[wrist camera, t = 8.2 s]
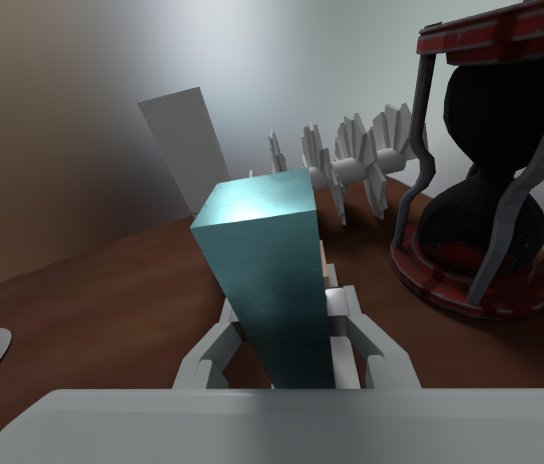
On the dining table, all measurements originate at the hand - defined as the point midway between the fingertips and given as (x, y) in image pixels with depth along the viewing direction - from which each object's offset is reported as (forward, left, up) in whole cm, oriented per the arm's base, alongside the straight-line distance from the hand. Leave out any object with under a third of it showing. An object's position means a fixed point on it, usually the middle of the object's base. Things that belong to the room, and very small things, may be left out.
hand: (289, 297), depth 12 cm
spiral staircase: (+22, +19, -15) cm, 33 cm away
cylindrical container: (+4, +24, -15) cm, 29 cm away
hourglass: (+24, -2, -15) cm, 29 cm away
